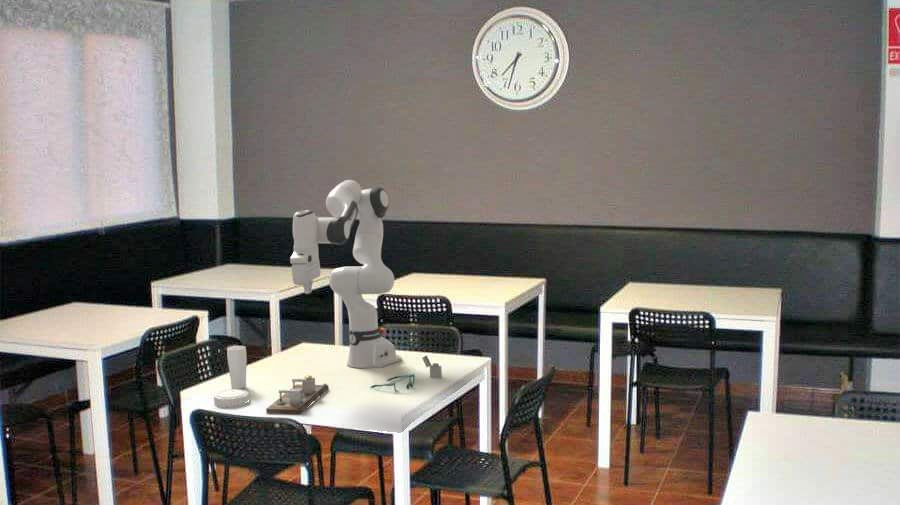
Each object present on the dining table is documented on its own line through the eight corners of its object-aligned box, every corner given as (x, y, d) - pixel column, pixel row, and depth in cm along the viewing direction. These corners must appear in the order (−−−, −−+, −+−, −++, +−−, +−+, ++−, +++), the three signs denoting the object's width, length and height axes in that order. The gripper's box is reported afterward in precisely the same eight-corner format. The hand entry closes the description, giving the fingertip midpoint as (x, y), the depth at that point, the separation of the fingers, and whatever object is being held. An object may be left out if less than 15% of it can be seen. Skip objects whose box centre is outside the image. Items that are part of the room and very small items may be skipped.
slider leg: (294, 390, 350) (293, 374, 349) (315, 391, 348) (314, 375, 348) (291, 393, 347) (290, 377, 346) (312, 393, 345) (311, 377, 345)
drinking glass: (251, 385, 365) (249, 346, 363) (242, 390, 359) (239, 350, 357) (235, 384, 367) (233, 345, 365) (225, 389, 361) (223, 349, 359)
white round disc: (208, 402, 346) (207, 392, 345) (240, 396, 353) (239, 386, 353) (223, 410, 336) (222, 399, 336) (255, 403, 344) (255, 393, 343)
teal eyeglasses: (401, 394, 349) (399, 380, 349) (367, 393, 357) (365, 379, 357) (423, 384, 361) (421, 370, 361) (389, 383, 369) (388, 370, 369)
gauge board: (296, 388, 360) (296, 384, 359) (328, 389, 357) (328, 384, 357) (266, 413, 331) (266, 408, 330) (300, 414, 328) (300, 409, 328)
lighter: (441, 377, 369) (441, 356, 368) (440, 378, 368) (439, 357, 367) (424, 375, 372) (423, 354, 371) (422, 376, 370) (421, 356, 369)
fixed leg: (302, 385, 358) (301, 371, 357) (326, 385, 356) (326, 372, 356) (274, 408, 331) (273, 393, 330) (300, 408, 329) (299, 394, 328)
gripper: (307, 251, 368) (309, 288, 370) (288, 259, 348) (290, 298, 350) (323, 251, 367) (325, 288, 369) (305, 259, 347) (307, 298, 349)
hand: (308, 293), depth 360 cm, fingers closed
